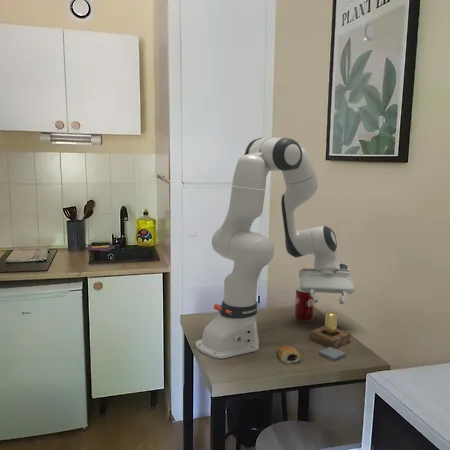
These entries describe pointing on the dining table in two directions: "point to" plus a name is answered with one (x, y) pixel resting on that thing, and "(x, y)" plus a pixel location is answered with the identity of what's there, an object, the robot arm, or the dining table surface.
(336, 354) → the mat
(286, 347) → the pastry
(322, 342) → the wooden square frame
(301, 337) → the dining table surface
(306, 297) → the soda can
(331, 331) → the peg
